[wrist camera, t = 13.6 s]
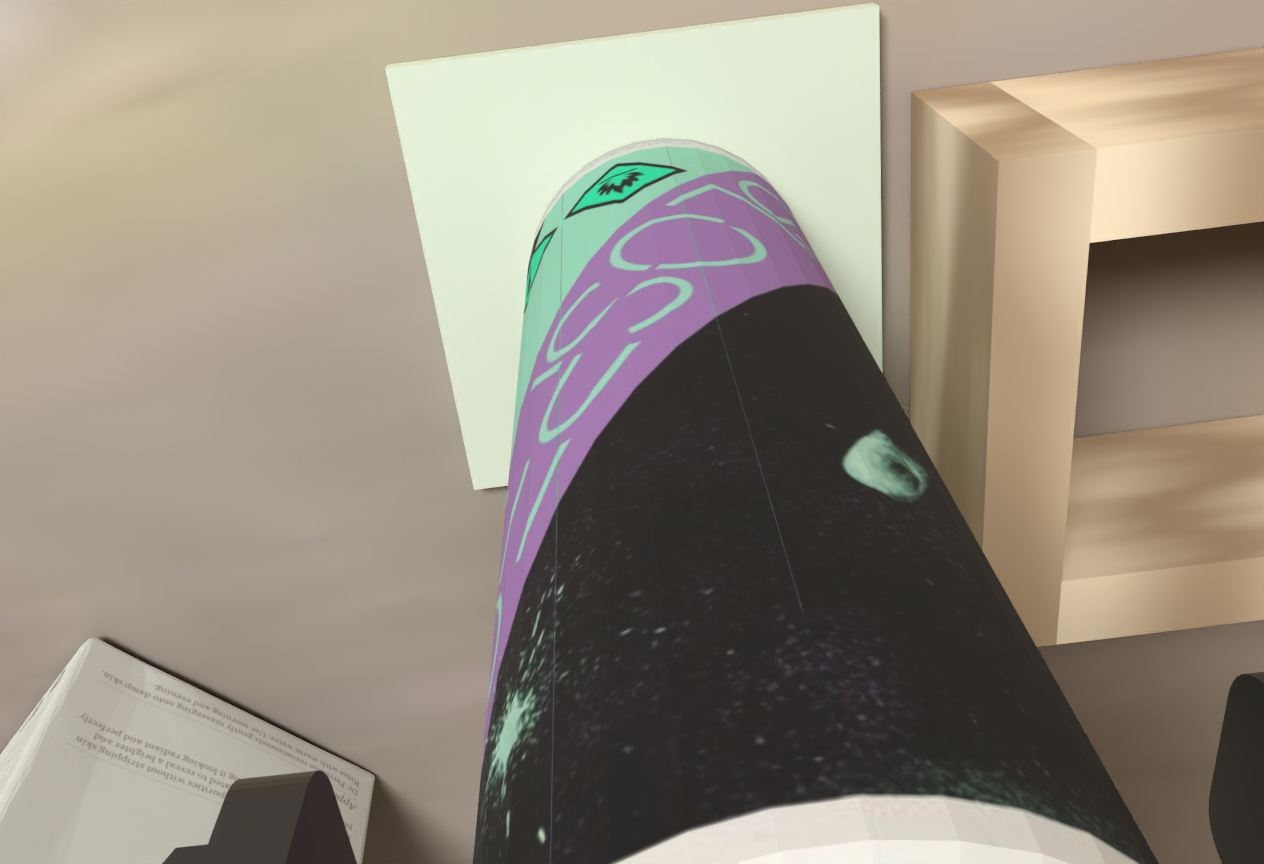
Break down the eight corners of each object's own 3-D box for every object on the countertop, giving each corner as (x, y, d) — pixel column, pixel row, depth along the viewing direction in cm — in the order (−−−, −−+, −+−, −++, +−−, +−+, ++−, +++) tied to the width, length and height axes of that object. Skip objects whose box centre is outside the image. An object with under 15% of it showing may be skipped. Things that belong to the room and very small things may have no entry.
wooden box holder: (1416, 28, 22) (1632, 81, 17) (1325, 463, 26) (1478, 593, 22) (911, 91, 22) (999, 161, 17) (909, 514, 26) (978, 653, 22)
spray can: (781, 108, 21) (1789, 1491, 4) (817, 366, 24) (1513, 1901, 6) (497, 170, 22) (179, 1721, 4) (563, 419, 24) (547, 2024, 7)
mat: (873, 3, 21) (878, 5, 20) (878, 431, 25) (882, 439, 25) (388, 64, 21) (385, 68, 21) (475, 480, 25) (474, 490, 25)
